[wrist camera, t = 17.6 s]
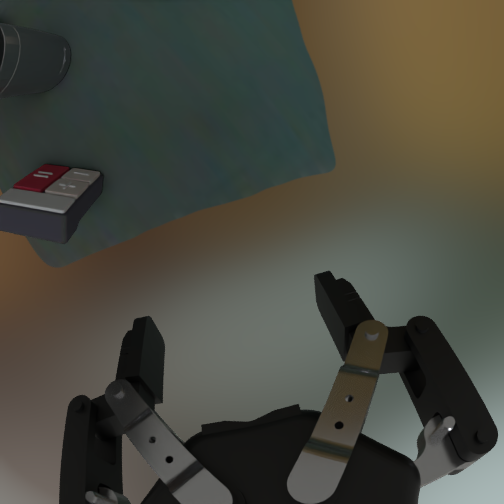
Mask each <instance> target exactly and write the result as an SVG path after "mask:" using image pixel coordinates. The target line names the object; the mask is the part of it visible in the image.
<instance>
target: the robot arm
mask: <svg viewBox="0 0 504 504" xmlns="http://www.w3.org/2000/svg"><path fill="white" fill-rule="evenodd" d="M70 58H71V52H70V47H69V44H68V43H67V41H66V40H65V39H64V38H63V37H60V36H58V35H54V34H51V33H47V32H43V31H39V30H35V29H30V28H26V27H21V26H16V25H10V24H5V23H0V99H2V98H8V97H13V96H19V95H25V94H33V93H41V92H45V91H48V90H50V89H52V88H53V87H55V86H56V85H57V84H58V83H59V82H60V81H61V80H62V79H63V77H64V76H65V74H66V72H67V70H68V67H69V64H70ZM314 280H315V281H314V282H315V293H316V302H317V306H318V309H319V311H320V313H321V316H322V318H323V320H324V322H325V324H326V326H327V328H328V330H329V332H330V334H331V336H332V338H333V341H334V343H335V345H336V347H337V349H338V351H339V353H340V355H341V358H342V360H343V361H345V363H344V365H343V366H341V367H340V369H339V372H338V374H337V376H336V379H335V382H334V384H333V387H332V389H331V392H330V394H329V396H328V399H327V401H326V404H325V406H324V408H323V411H322V412H319V411H315V410H300V407H299V404H297V405H293V406H289V407H285V408H281V409H277V410H274V411H272V412H270V413H268V414H266V415H264V416H262V417H260V418H257V419H256V420H253V421H250V422H239V421H237V422H236V421H222V422H216V423H210V424H203V425H201V426H202V432H199V433H197V434H196V435H194V436H192V437H191V438H190V439H188V440H187V441H186V442H184V441H183V440H181V439H180V438H179V437H178V436H177V435H176V433H175V432H174V431H173V430H172V429H171V428H170V427H169V426H168V425H167V424H166V423H165V422H164V420H163V419H162V418H161V417H160V416H159V415H158V414H157V412H155V410H154V409H155V404H159V403H163V375H164V356H165V355H164V354H165V344H164V340H163V337H162V336H161V334H160V332H159V330H158V329H157V327H156V325H155V323H154V322H153V320H152V318H151V317H150V316H146V317H142V318H137V319H135V320H134V323H133V329H132V330H130V331H128V332H127V333H126V335H125V337H124V338H123V341H122V346H121V351H120V357H119V362H118V368H117V374H116V380H115V381H113V382H111V384H109V385H108V387H107V388H106V391H105V394H104V395H102V396H99V397H97V398H95V399H92V400H90V399H89V398H88V397H87V396H85V395H79V396H77V397H75V398H73V400H72V401H71V402H70V404H69V406H68V411H67V417H66V424H65V431H64V440H63V449H62V459H61V472H60V494H59V504H131V503H130V501H129V500H128V498H127V497H125V496H124V495H123V484H122V434H126V435H127V437H128V438H129V439H130V441H131V442H132V443H133V445H134V446H135V447H136V449H137V450H138V451H139V453H140V454H141V455H142V457H143V458H144V459H145V460H146V462H147V463H148V464H149V465H150V467H151V468H152V469H153V470H154V471H155V472H156V474H157V475H158V476H159V477H160V478H159V479H158V481H157V482H156V483H155V485H154V486H153V488H152V489H151V490H150V492H149V493H148V494H147V496H146V497H145V498H144V500H143V501H142V502H141V504H418V496H419V491H420V488H421V487H423V486H425V485H427V484H429V483H431V482H433V481H435V480H437V479H439V478H441V477H443V476H445V475H447V474H448V475H454V474H458V473H459V472H461V471H463V470H464V469H466V468H467V467H468V466H470V465H471V464H473V463H474V462H476V461H477V460H478V459H480V458H481V457H482V456H484V455H485V454H486V453H488V452H489V451H490V450H491V449H492V448H493V447H494V446H495V444H496V442H497V438H498V431H497V428H496V425H495V424H494V421H493V419H492V418H491V416H490V414H489V412H488V410H487V408H486V406H485V404H484V402H483V400H482V399H481V397H480V395H479V393H478V392H477V390H476V388H475V386H474V384H473V383H472V381H471V379H470V378H469V376H468V374H467V372H466V371H465V369H464V368H463V366H462V364H461V362H460V361H459V359H458V358H457V356H456V354H455V353H454V351H453V350H452V348H451V347H450V345H449V343H448V342H447V340H446V339H445V337H444V336H443V334H442V333H441V331H440V330H439V328H438V327H437V325H436V324H435V322H434V321H433V320H432V319H430V318H428V317H425V316H416V317H413V318H412V319H410V320H409V321H408V323H407V326H400V327H387V326H385V325H384V324H383V323H382V322H380V321H377V320H375V319H374V318H373V316H372V315H371V313H370V312H369V310H368V308H367V307H366V306H365V304H364V302H363V301H362V299H361V298H360V297H359V295H358V293H357V292H356V290H355V289H354V287H353V286H352V285H351V283H350V282H348V281H346V280H345V279H343V278H341V279H338V280H336V279H335V278H334V276H333V275H332V273H331V272H330V271H326V272H323V273H319V274H316V275H314ZM397 372H399V374H400V376H401V378H402V380H403V383H404V385H405V387H406V389H407V391H408V393H409V395H410V397H411V400H412V402H413V404H414V406H415V408H416V411H417V413H418V415H419V417H420V419H421V422H422V424H423V427H424V429H423V430H422V431H421V433H420V434H419V436H418V439H417V447H418V456H417V459H416V460H415V461H412V460H411V459H410V458H408V457H407V456H405V455H403V454H401V453H399V452H397V451H395V450H393V449H391V448H389V447H387V446H385V445H383V444H381V443H379V442H377V441H375V440H373V439H371V438H369V437H367V436H366V435H364V434H362V433H361V432H362V429H363V426H364V423H365V420H366V417H367V414H368V411H369V407H370V404H371V401H372V398H373V395H374V391H375V388H376V385H377V380H378V377H379V374H386V373H397Z"/></svg>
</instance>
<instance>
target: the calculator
mask: <svg viewBox="0 0 504 504" xmlns="http://www.w3.org/2000/svg"><path fill="white" fill-rule="evenodd" d="M102 184H103V175H101V174H100V172H98V171H92V170H85V169H78V168H72V169H71V170H69V167H64V166H57V165H49V164H44V165H43V166H41V167H40V168H38V169H36V170H35V171H33V172H32V173H30V174H29V175H27V176H26V177H24V178H23V179H21V180H20V181H19V182H17V183H16V184H14V187H13V188H11V189H9V190H8V191H6V192H5V193H4V194H2V195H1V196H0V231H5V232H9V233H14V234H19V235H23V236H28V237H32V238H37V239H42V240H47V241H52V242H57V243H62V244H65V243H67V242H68V240H69V239H70V238H71V236H72V235H73V233H74V232H75V231H76V229H77V226H78V223H79V221H80V220H81V218H82V217H83V216H84V214H85V213H86V212H87V211H88V209H89V208H90V207H91V205H92V204H93V203H94V202H95V200H96V199H97V198H98V197H99V196H100V194H101V193H102Z"/></svg>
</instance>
